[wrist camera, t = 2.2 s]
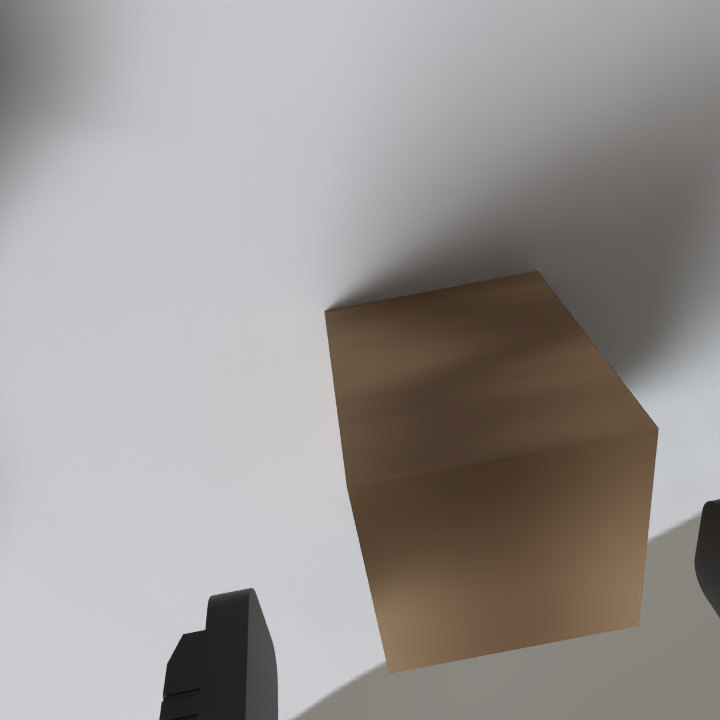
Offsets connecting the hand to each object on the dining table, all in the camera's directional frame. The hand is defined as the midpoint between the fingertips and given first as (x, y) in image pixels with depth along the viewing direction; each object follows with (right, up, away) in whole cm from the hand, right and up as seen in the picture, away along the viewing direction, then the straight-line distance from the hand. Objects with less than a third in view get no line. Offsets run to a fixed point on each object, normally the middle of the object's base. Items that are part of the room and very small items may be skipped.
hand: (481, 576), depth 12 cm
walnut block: (0, +3, +5) cm, 6 cm away
